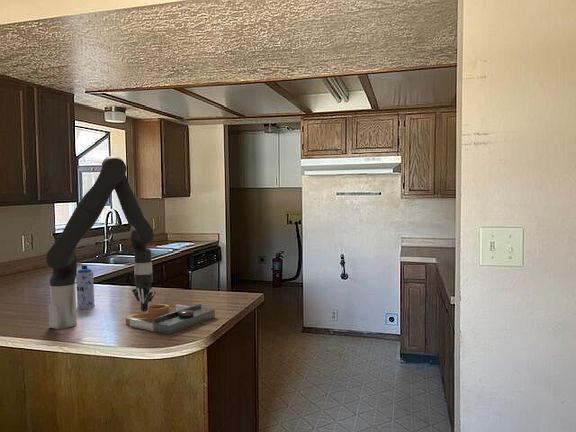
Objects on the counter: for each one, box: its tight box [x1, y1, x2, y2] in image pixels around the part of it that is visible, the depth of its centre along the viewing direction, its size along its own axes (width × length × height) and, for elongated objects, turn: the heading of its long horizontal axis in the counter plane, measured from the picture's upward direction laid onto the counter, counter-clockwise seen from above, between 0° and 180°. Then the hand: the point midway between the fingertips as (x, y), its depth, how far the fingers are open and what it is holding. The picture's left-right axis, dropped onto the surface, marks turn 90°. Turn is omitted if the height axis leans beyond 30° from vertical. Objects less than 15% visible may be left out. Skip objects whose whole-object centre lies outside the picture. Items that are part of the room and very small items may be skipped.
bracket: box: [125, 303, 170, 326], centre depth 181 cm, size 18×8×7 cm, turn 86°
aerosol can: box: [75, 265, 96, 310], centre depth 208 cm, size 8×8×20 cm
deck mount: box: [129, 303, 216, 336], centre depth 182 cm, size 26×22×5 cm
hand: (144, 311), depth 191 cm, fingers closed
